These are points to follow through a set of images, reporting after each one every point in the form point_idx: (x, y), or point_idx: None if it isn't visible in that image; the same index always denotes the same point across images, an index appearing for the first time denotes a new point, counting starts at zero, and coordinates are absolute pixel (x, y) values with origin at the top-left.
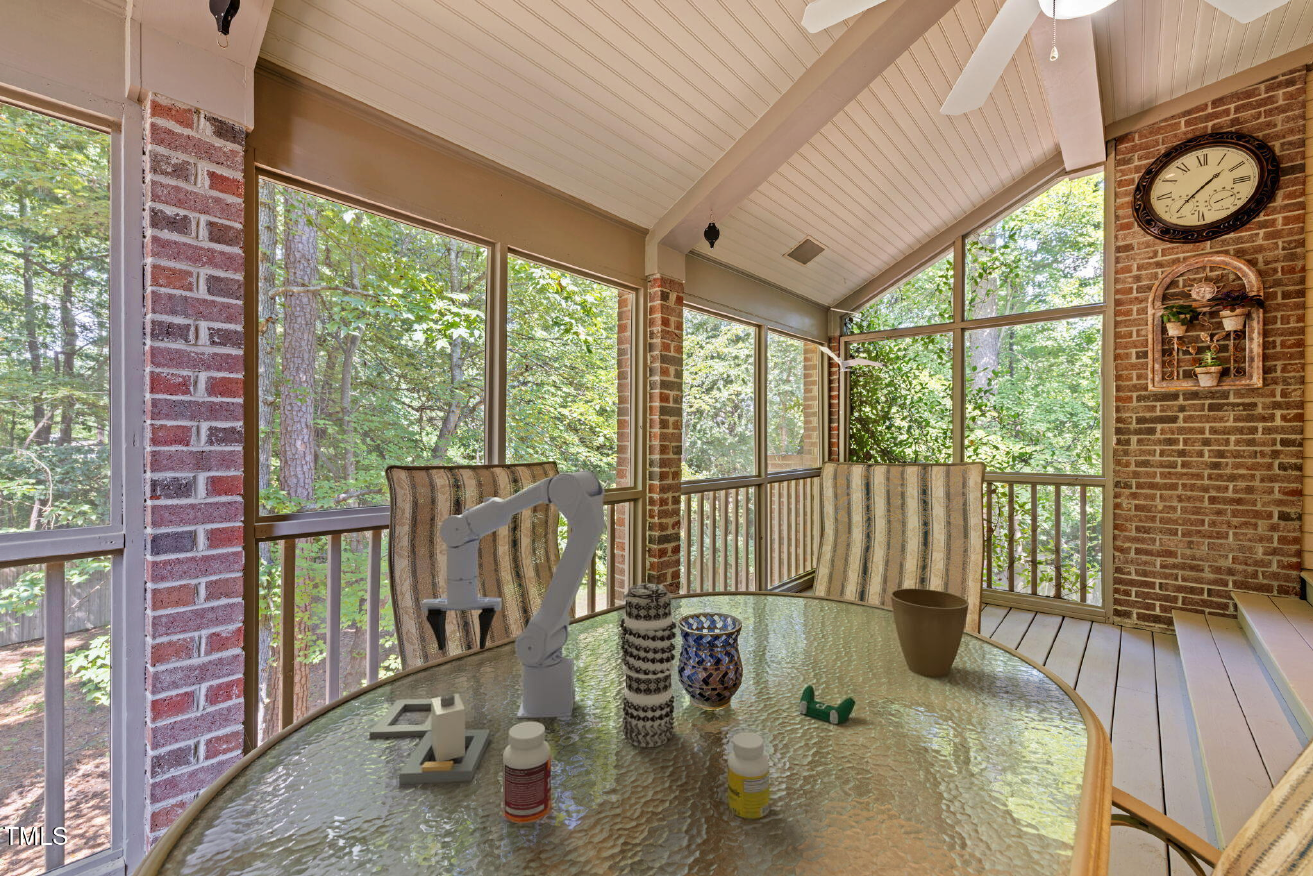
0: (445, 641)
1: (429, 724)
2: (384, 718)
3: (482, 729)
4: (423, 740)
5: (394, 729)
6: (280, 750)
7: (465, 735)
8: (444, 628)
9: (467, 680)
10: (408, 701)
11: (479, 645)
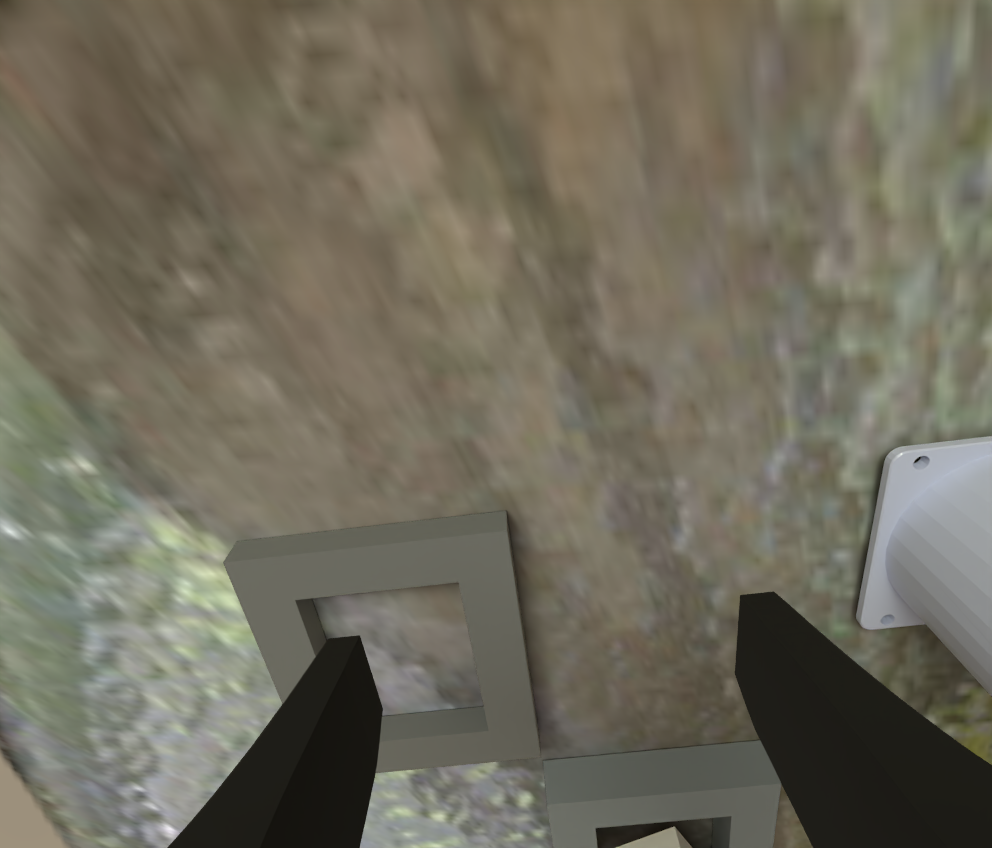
0: (346, 675)
1: (512, 728)
2: None
3: (751, 786)
4: (559, 842)
5: (395, 761)
6: (78, 809)
7: (697, 815)
8: (290, 834)
9: (452, 182)
10: (293, 574)
11: (752, 720)
